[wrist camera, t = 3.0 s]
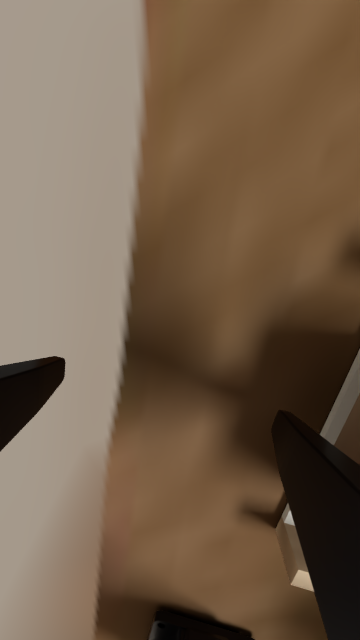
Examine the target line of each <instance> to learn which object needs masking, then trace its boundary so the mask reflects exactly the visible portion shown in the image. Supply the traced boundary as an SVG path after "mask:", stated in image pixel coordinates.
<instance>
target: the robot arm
mask: <svg viewBox="0 0 360 640" xmlns="http://www.w3.org/2000/svg"><path fill="white" fill-rule="evenodd" d="M64 375H65V359H64V358H61V357H57V356H53V357H47V358H41V359H36V360H30V361H25V362H19V363H13V364H8V365H2V366H0V451H1V450H2V449H3V448H4V447H5V446H6V445H7V444H8V443H9V442H10V441H11V440H12V439H13V438H14V436H16V435H17V434H18V433H19V431H20V430H21V429H22V428H23V427H24V426H25V425H26V424H27V423H28V422H29V421H30V420H31V419H32V418H33V417H34V416H35V415H36V414H37V412H38V411H39V410H40V409H41V408H42V407H43V405H44V404H45V403H46V402H47V400H48V399H49V398H50V396H51V395H52V394H53V393H54V391H55V390H56V389H57V387H58V386H59V385H60V384H61V383H62V381H63V379H64ZM272 438H273V443H274V448H275V453H276V459H277V464H278V469H279V473H280V477H281V481H282V484H283V487H284V491H285V494H286V498H287V501H288V504H289V508H290V511H291V515H292V518H293V521H294V525H295V528H296V532H297V535H298V538H299V542H300V545H301V549H302V552H303V556H304V559H305V562H306V566H307V569H308V573H309V576H310V579H311V583H312V586H313V590H314V593H315V596H316V600H317V603H318V607H319V610H320V613H321V617H322V620H323V624H324V627H325V630H326V634H327V637H328V640H360V465H359V464H358V463H356V462H355V461H354V460H352V459H351V458H350V457H348V456H347V455H346V454H344V453H343V452H342V451H340V450H339V449H338V448H337V447H335V446H334V445H333V444H331V443H330V442H329V441H327V440H326V439H325V438H323V437H322V436H321V435H319V434H318V433H317V432H316V431H314V430H313V429H312V428H310V427H309V426H308V425H306V424H305V423H304V422H302V421H301V420H300V419H299V418H297V417H296V416H295V415H293V414H292V413H291V412H288V411H283V410H279V411H278V412H277V415H276V417H275V420H274V423H273V425H272ZM147 640H255V639H253V638H251V637H248V636H245V635H241V634H238V633H235V632H232V631H228V630H225V629H222V628H219V627H215V626H212V625H209V624H205V623H202V622H199V621H196V620H192V619H189V618H186V617H183V616H179V615H176V614H173V613H169V612H166V611H162V610H159V611H156V612H155V615H154V618H153V621H152V625H151V628H150V631H149V635H148V638H147Z"/></svg>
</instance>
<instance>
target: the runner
mask: <svg viewBox="0 0 360 640" xmlns="http://www.w3.org/2000/svg"><path fill="white" fill-rule="evenodd" d="M359 394H360V349H359V352H358V354H357V356H356V358H355V360H354V362H353V364H352V367H351V369H350V371H349V373H348V375H347V377H346V379H345V382H344V384H343V386H342V388H341V390H340V392H339V394H338V397H337V399H336V401H335V403H334V405H333V407H332V409H331V412H330V414H329V416H328V418H327V420H326V422H325V424H324V427H323V429H322V431H321V433H320V435H321V436H322V437H323V438H325V439H326V440H327V441H329V442H330V443H331V444H333V445H334V444H335V442H336V440H337V438H338V436H339V434H340V432H341V430H342V428H343V426H344V424H345V422H346V420H347V418H348V416H349V414H350V412H351V410H352V408H353V406H354V404H355V402H356V400H357V398H358V396H359ZM282 518H283V521H284V523H287V524H290V525H294V521H293V518H292V515H291V511H290V508H289V504H287V506H286V508H285V510H284V512H283V514H282ZM294 526H295V525H294Z"/></svg>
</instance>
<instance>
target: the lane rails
mask: <svg viewBox="0 0 360 640" xmlns="http://www.w3.org/2000/svg"><path fill="white" fill-rule="evenodd" d="M275 530H276V533H277V537H278V541H279V544H280V548H281V552H282V555H283V559H284V563H285V566H286V570H287V574H288V577H289V581H290V585H293V586H297V587H300V588H304V589H307V590H310V591H314V590H313V586H312V583H311V579H310V576H309V573H308V569H307V566H306V562H305V559H304V556H303V552H302V549H301V545H300V542H299V538H298V535H297V532H296V528H295V526H294V525H290V524H287V523H284V521H283V518H282V517H281V519H280V521H279V523H278V525H277V527H276V529H275Z"/></svg>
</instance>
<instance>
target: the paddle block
mask: <svg viewBox="0 0 360 640" xmlns="http://www.w3.org/2000/svg"><path fill="white" fill-rule="evenodd" d="M334 446H335V447H337V448H338V449H339V450H340V451H342V452H343V453H344V454H346V455H347V456H348V457H350V458H351V459H352V460H354V461H355V462H356V463H358V464H359V465H360V394H359V396H358V398H357V400H356V402H355V404H354V406H353V408H352V410H351V412H350V414H349V416H348V418H347V420H346V422H345V424H344V426H343V428H342V430H341V432H340V434H339V436H338V438H337V440H336V442H335V444H334Z"/></svg>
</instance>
